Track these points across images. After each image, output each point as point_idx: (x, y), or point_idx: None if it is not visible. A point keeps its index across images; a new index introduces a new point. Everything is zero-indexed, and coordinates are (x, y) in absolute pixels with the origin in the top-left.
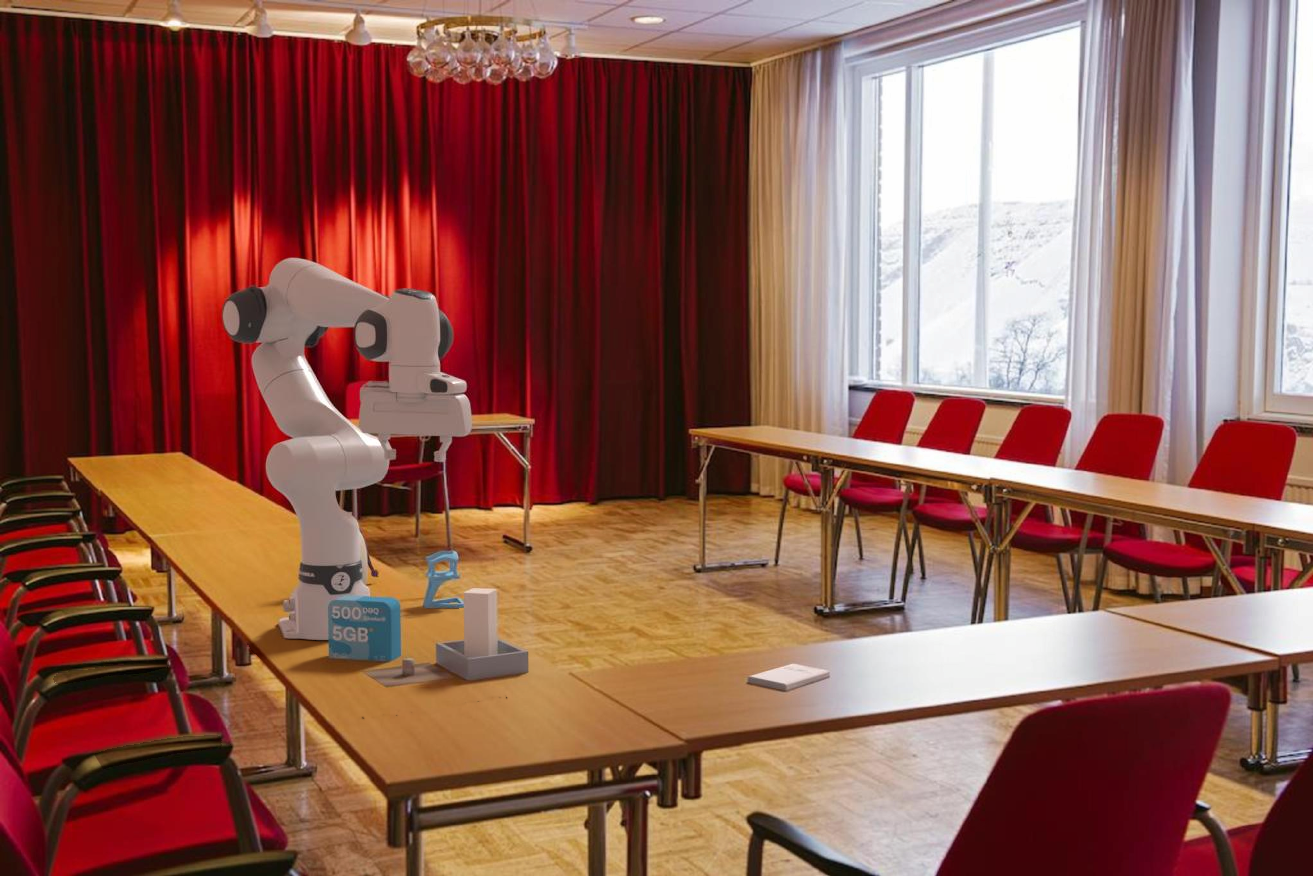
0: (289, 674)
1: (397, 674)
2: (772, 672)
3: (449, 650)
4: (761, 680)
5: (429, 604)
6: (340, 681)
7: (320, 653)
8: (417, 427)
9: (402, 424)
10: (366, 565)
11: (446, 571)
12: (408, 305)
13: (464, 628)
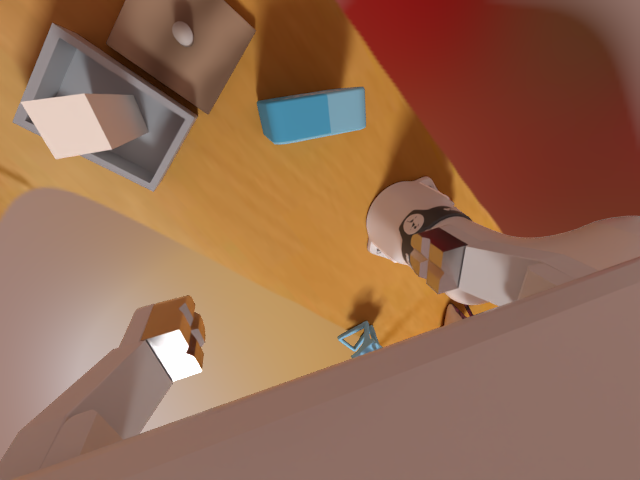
0: (353, 29)
1: (198, 29)
2: None
3: (141, 82)
4: None
5: (364, 324)
6: (276, 15)
7: (370, 139)
8: (319, 452)
9: (526, 406)
10: None
11: None
12: None
13: (110, 94)
